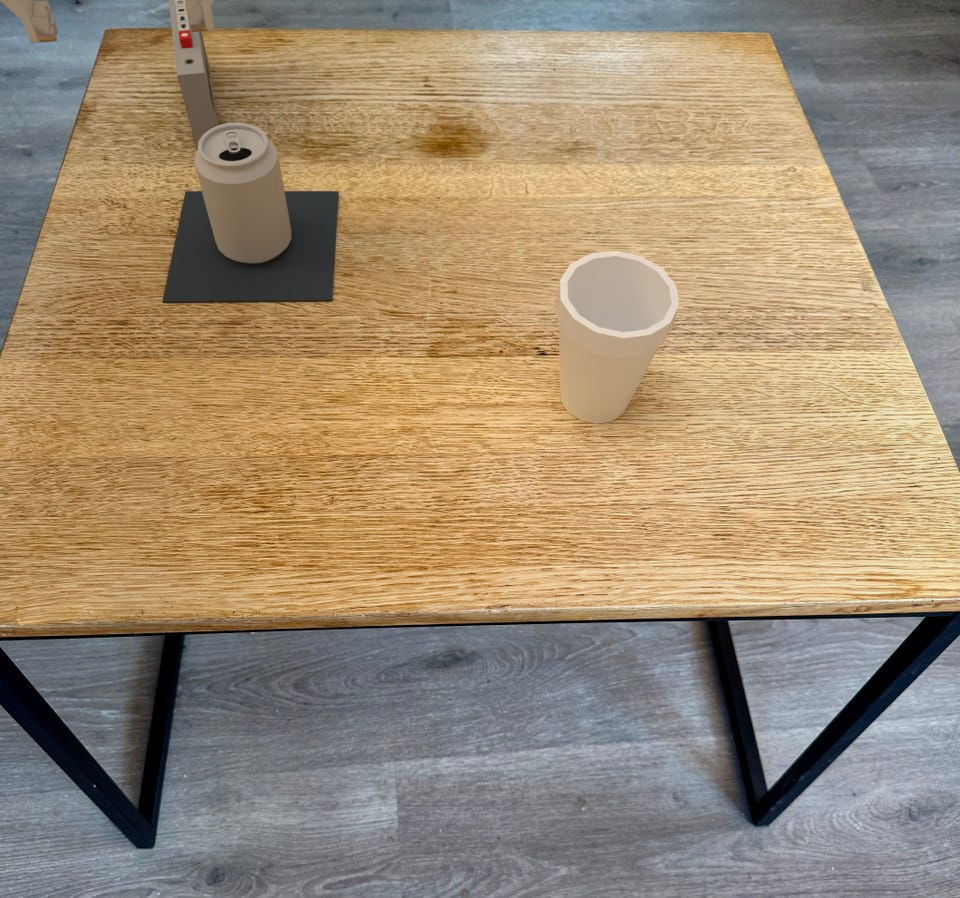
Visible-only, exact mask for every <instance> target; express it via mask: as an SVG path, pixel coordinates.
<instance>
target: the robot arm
mask: <svg viewBox="0 0 960 898" xmlns="http://www.w3.org/2000/svg"><path fill="white" fill-rule="evenodd" d="M185 1H186V2H185V3H186V10H187V15H188V18H189V24H190V29H191V32H200V31H202V32H213V31H214V32H215V31H216V29H215V21H214V15H213V8H212V6H213V4H214V2H215V0H185ZM0 2H1V3H2V4H3V5H4V6H5V7H6V8H7V9H8V10H10V11H11V12H12V13H13V14H14V15H15V16H16V17H17V18H20V19H21V22H22V25H23V26H24V30H25V32H26V35H27V37H28V40H29V42H30V43H31V44H38V43H51V42H57V41H58V36H57V35H58V27H57V23H56V20H55V18H54V17H53V16H52V8H51V6H50V3H49V0H0Z"/></svg>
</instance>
